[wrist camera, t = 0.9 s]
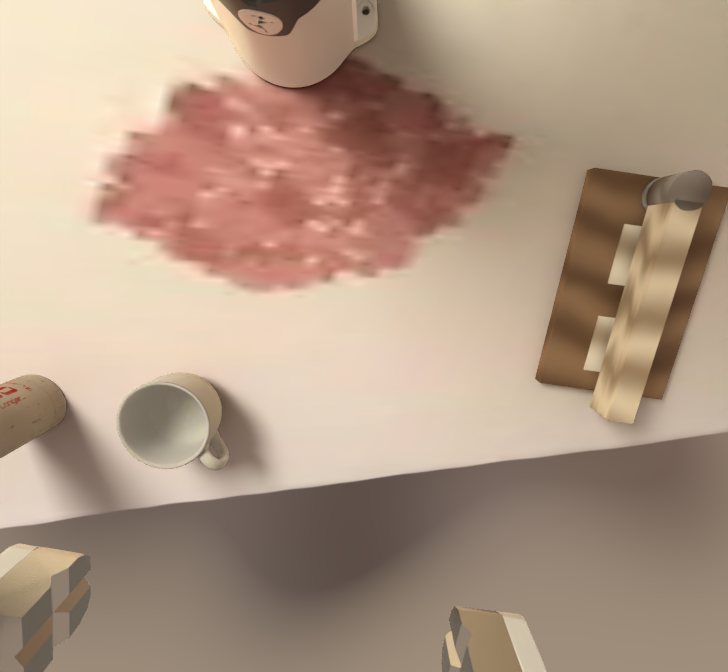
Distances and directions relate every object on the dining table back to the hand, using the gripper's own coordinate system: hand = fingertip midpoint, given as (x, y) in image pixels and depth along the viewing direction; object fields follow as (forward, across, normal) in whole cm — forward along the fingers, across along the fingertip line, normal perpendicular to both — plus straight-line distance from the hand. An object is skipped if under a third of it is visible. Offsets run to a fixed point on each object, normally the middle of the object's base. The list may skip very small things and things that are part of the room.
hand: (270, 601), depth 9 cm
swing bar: (+40, -33, -7) cm, 53 cm away
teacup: (+43, +19, +17) cm, 50 cm away
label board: (+43, -33, -8) cm, 55 cm away
